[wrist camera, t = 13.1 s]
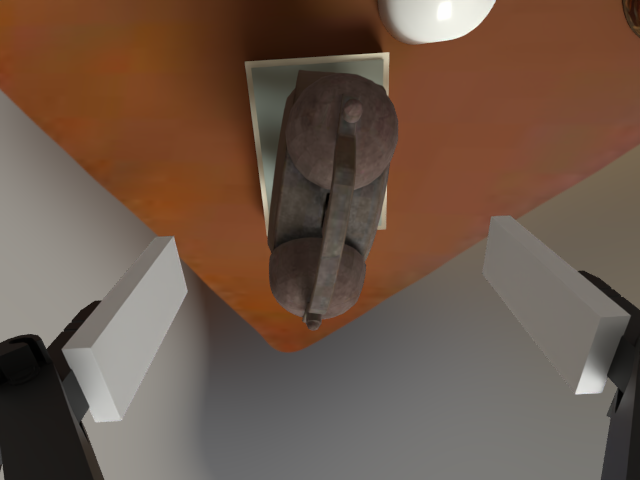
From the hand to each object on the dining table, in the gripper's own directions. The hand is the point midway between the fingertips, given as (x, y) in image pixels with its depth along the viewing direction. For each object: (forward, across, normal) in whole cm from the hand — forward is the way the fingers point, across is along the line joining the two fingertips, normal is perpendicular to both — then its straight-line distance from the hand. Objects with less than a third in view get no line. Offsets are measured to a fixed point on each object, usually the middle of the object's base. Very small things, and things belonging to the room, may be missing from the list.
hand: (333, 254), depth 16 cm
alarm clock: (+21, 0, -1) cm, 21 cm away
